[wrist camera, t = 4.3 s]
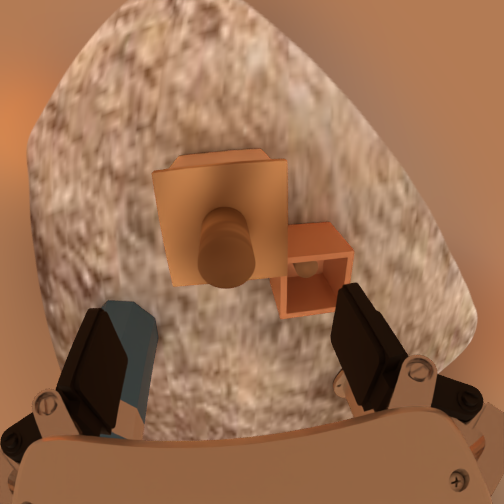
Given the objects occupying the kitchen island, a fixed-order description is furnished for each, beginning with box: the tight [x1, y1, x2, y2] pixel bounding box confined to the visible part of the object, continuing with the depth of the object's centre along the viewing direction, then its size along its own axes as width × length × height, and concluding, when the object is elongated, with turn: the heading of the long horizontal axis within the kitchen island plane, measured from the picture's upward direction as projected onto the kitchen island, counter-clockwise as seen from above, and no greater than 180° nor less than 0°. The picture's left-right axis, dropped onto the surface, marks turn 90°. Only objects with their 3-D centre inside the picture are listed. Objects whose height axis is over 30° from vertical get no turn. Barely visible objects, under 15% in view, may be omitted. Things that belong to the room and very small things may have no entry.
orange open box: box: [270, 222, 354, 319], centre depth 30 cm, size 7×7×7 cm
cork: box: [293, 261, 318, 278], centre depth 32 cm, size 2×2×3 cm
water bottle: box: [100, 300, 158, 440], centre depth 25 cm, size 9×9×25 cm
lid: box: [152, 159, 288, 289], centre depth 19 cm, size 9×9×6 cm
